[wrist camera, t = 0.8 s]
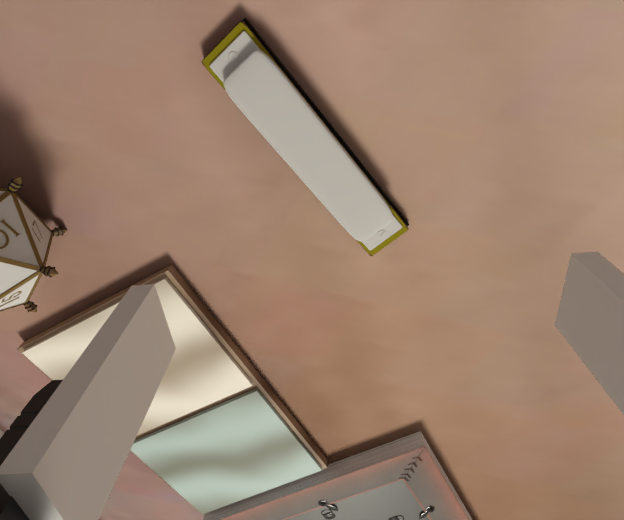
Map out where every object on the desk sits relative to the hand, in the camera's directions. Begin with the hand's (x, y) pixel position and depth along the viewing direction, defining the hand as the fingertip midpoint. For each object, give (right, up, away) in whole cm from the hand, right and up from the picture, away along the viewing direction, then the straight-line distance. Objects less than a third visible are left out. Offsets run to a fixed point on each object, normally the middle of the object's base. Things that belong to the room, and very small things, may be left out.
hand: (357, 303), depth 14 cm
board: (-11, -10, +20) cm, 25 cm away
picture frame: (+2, -23, +28) cm, 37 cm away
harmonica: (-1, +8, +11) cm, 14 cm away
